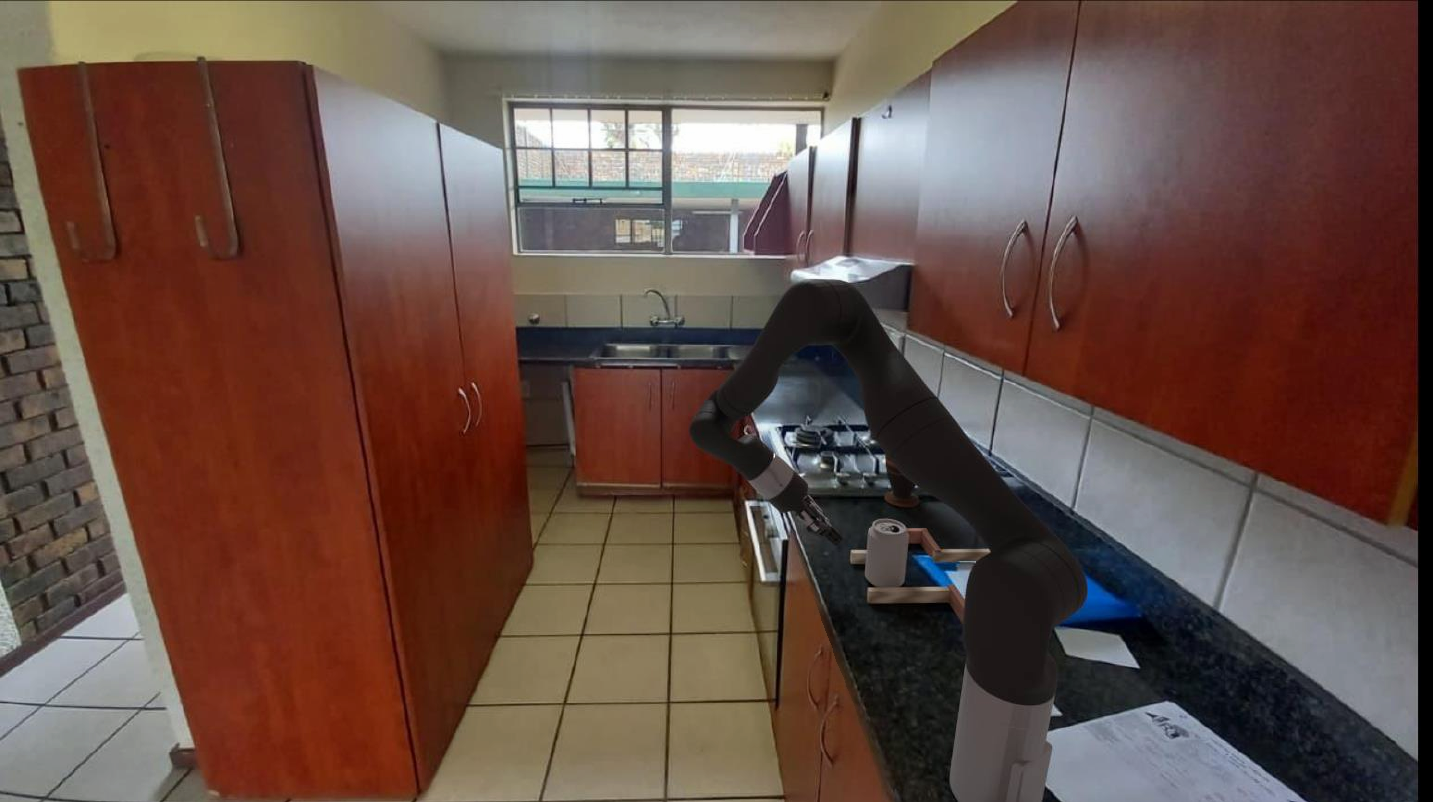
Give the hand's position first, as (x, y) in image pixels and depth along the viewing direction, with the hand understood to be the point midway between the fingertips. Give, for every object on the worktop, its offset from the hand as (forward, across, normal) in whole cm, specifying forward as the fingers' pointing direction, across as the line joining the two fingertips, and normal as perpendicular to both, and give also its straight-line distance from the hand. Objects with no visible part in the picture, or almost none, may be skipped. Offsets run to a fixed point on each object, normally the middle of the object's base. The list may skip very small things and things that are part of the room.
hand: (839, 540), depth 112 cm
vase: (+24, +35, -11) cm, 43 cm away
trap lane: (+21, 0, -8) cm, 22 cm away
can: (+13, 0, 0) cm, 13 cm away
